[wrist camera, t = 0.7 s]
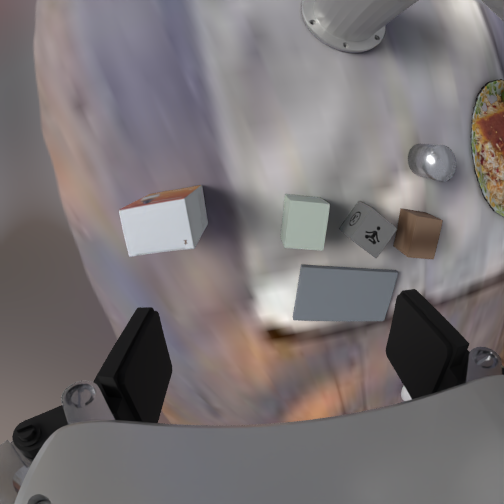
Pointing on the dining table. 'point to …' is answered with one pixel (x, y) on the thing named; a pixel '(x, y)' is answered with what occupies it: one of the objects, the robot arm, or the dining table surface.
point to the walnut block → (417, 234)
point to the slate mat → (343, 293)
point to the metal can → (432, 161)
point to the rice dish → (489, 144)
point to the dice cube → (368, 229)
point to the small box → (164, 221)
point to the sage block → (304, 222)
